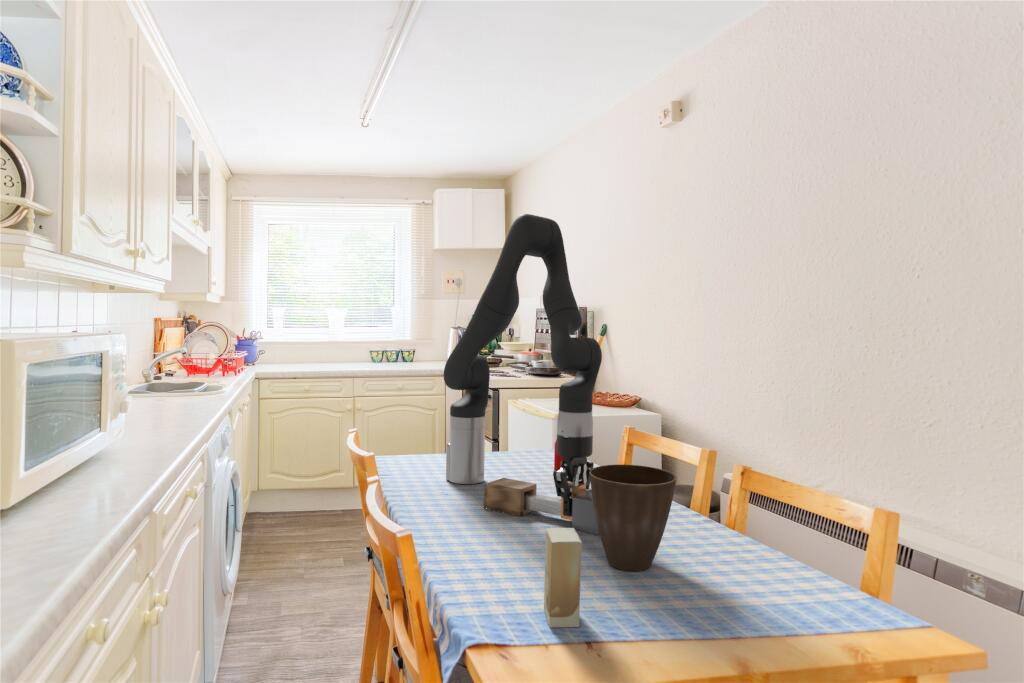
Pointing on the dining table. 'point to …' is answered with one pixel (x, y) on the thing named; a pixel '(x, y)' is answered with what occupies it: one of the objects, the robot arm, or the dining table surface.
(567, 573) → the skincare box
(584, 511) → the socket
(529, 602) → the dining table surface
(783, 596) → the dining table surface
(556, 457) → the beverage can
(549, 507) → the tan and grey bar
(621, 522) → the plant pot
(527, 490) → the brown rectangular block
